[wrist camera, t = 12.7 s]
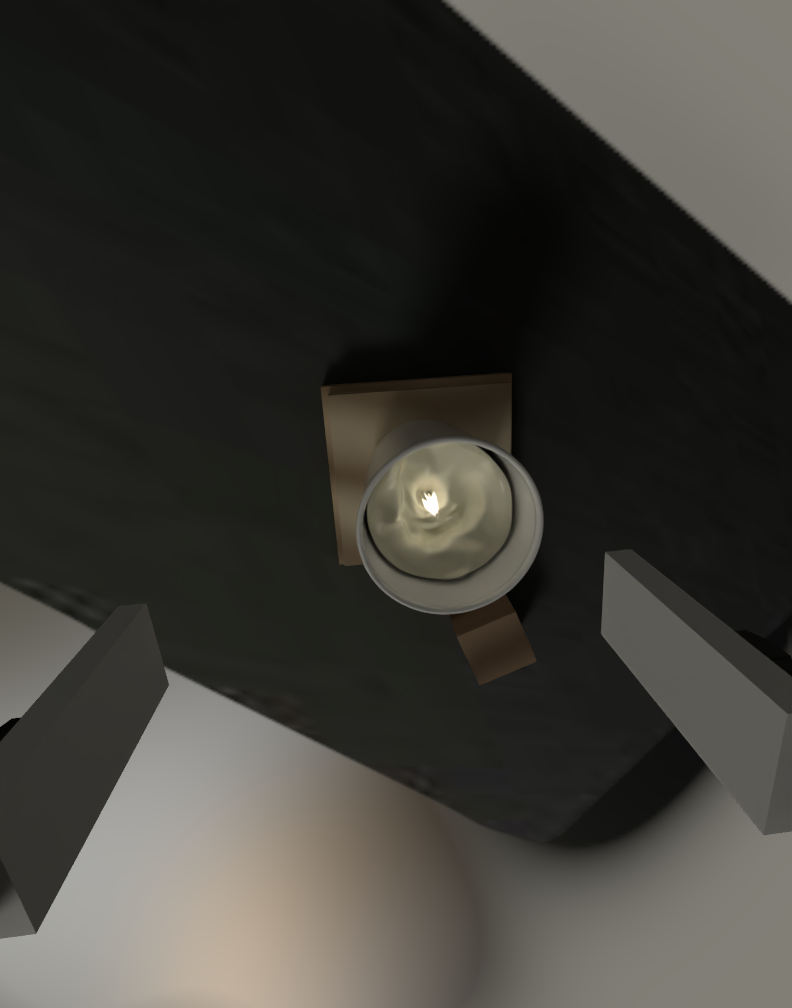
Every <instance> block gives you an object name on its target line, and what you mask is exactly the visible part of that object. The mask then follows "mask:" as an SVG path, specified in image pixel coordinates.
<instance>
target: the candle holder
mask: <svg viewBox="0 0 792 1008" xmlns="http://www.w3.org/2000/svg"><path fill="white" fill-rule="evenodd" d="M543 524H544V517H543V507H542V502H541V498H540V495H539V492H538V489H537V487H536V485H535V483H534V481H533V479H532V477H531V476H530V474H529V473H528V472H527V470H526V469H525V468H524V466H523V465H522V464H521V463H520V462H519V461H518V460H517V459H516V458H515V457H513V456H512V455H511V454H509V453H508V452H507V451H505V450H504V449H502V448H500V447H498V446H496V445H494V444H492V443H490V442H487V441H484V440H481V439H480V438H478V437H476V436H474V435H472V434H470V433H468V432H466V431H464V430H462V429H460V428H458V427H456V426H454V425H452V424H449V423H447V422H444V421H440V420H436V419H416V420H412V421H408V422H405V423H403V424H401V425H399V426H397V427H395V428H394V429H392V430H391V431H389V432H388V433H387V434H386V435H385V436H384V437H383V438H382V439H381V440H380V442H379V443H378V444H377V446H376V447H375V449H374V451H373V453H372V455H371V458H370V461H369V465H368V469H367V474H366V479H365V484H364V490H363V495H362V499H361V502H360V505H359V509H358V514H357V521H356V538H357V545H358V550H359V554H360V557H361V559H362V562H363V564H364V566H365V568H366V570H367V572H368V574H369V575H370V577H371V578H372V579H373V581H374V582H375V583H376V584H377V585H378V587H379V588H380V589H381V590H382V591H384V592H385V593H386V594H387V595H388V596H390V597H391V598H392V599H394V600H396V601H397V602H399V603H401V604H403V605H405V606H407V607H409V608H412V609H415V610H418V611H422V612H426V613H432V614H457V613H464V612H468V611H472V610H475V609H478V608H481V607H484V606H486V605H488V604H490V603H492V602H494V601H496V600H497V599H499V598H500V597H502V596H503V595H505V594H506V593H507V592H509V591H510V590H511V589H512V588H513V587H514V586H515V585H516V584H517V583H518V582H519V581H520V580H521V579H522V578H523V576H524V575H525V574H526V573H527V571H528V570H529V568H530V566H531V565H532V563H533V561H534V559H535V557H536V555H537V552H538V550H539V547H540V543H541V539H542V534H543Z"/></svg>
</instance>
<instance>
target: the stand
mask: <svg viewBox="0 0 792 1008" xmlns="http://www.w3.org/2000/svg"><path fill="white" fill-rule="evenodd" d="M321 394H322V404H323V413H324V423H325V432H326V442H327V451H328V461H329V470H330V480H331V489H332V499H333V508H334V518H335V527H336V537H337V546H338V556H339V564H344V566H348V565H360V564H363V562H362V559H361V557H360V554H359V550H358V545H357V538H356V521H357V514H358V509H359V505H360V502H361V499H362V495H363V490H364V484H365V479H366V474H367V469H368V465H369V461H370V458H371V455H372V453H373V451H374V449H375V447H376V446H377V444H378V443H379V442H380V440H381V439H382V438H383V437H384V436H385V435H386V434H387V433H388V432H389V431H391V430H392V429H394V428H395V427H397V426H399V425H401V424H403V423H405V422H408V421H412V420H416V419H436V420H440V421H444V422H447V423H449V424H452V425H454V426H456V427H458V428H460V429H462V430H464V431H466V432H468V433H470V434H472V435H474V436H476V437H478V438H480V439H481V440H484V441H487V442H490V443H492V444H494V445H496V446H498V447H500V448H502V449H504V450H505V451H507V452H508V453H509V454H511V432H512V374H511V373H493V374H479V375H464V376H450V377H435V378H421V379H407V380H392V381H378V382H363V383H349V384H334V385H322V386H321Z"/></svg>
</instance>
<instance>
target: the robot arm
mask: <svg viewBox="0 0 792 1008" xmlns="http://www.w3.org/2000/svg"><path fill="white" fill-rule="evenodd" d="M601 634H602V636H603V637H604V638H605V639H606V641H607V642H608V643H609V644H610V646H611V647H612V648H613V649H614V651H615V652H616V653H617V654H618V656H619V657H620V658H621V659H622V660H623V662H624V663H625V664H626V665H627V667H628V668H629V669H630V670H631V672H632V673H633V674H634V675H635V677H636V678H637V679H638V680H639V682H640V683H641V684H642V685H643V686H644V688H645V689H646V690H647V691H648V693H649V694H650V695H651V696H652V698H653V699H654V700H655V701H656V703H657V704H658V705H659V706H660V708H661V709H662V710H663V711H664V712H665V714H666V715H667V716H668V717H669V719H670V720H671V721H672V722H673V724H674V725H675V726H676V727H677V729H678V730H679V731H680V732H681V733H682V735H683V736H684V737H685V738H686V740H687V741H688V742H689V743H690V745H691V746H692V747H693V748H694V750H695V751H696V752H697V753H698V755H699V756H700V757H701V758H702V759H703V761H704V762H705V763H706V764H707V766H708V767H709V768H710V769H711V771H712V772H713V773H714V774H715V776H716V777H717V778H718V779H719V781H720V782H721V783H722V784H723V786H724V787H725V788H726V789H727V790H728V792H729V793H730V794H731V795H732V797H733V798H734V799H735V800H736V802H737V803H738V804H739V805H740V806H741V808H742V809H743V810H744V811H745V813H746V814H747V815H748V816H749V818H750V819H751V820H752V821H753V823H754V824H755V825H756V826H757V828H758V829H759V830H760V831H761V832H762V834H763V835H768V834H775V833H783V832H790V831H792V659H791V656H790V655H789V654H787V653H786V652H784V651H783V650H782V649H781V648H779V647H778V646H777V645H775V644H774V643H773V642H771V641H769V640H767V639H765V638H762V637H760V636H758V635H756V634H754V633H751V632H749V631H747V630H741V631H733V630H732V629H731V628H730V627H728V626H727V625H726V624H725V623H723V622H722V621H721V620H720V619H718V618H717V617H716V616H714V615H713V614H712V613H711V612H709V611H708V610H707V609H706V608H704V607H703V606H702V605H701V604H699V603H698V602H697V601H696V600H694V599H693V598H692V597H691V596H689V595H688V594H687V593H685V592H684V591H683V590H682V589H680V588H679V587H678V586H677V585H675V584H674V583H673V582H672V581H670V580H669V579H668V578H667V577H665V576H664V575H663V574H662V573H660V572H659V571H658V570H656V569H655V568H654V567H653V566H651V565H650V564H649V563H648V562H646V561H645V560H644V559H643V558H641V557H640V556H639V555H638V554H636V553H635V552H634V551H633V550H631V549H630V550H621V551H612V552H605V567H604V587H603V607H602V627H601ZM168 686H169V684H168V680H167V676H166V673H165V669H164V665H163V662H162V658H161V654H160V651H159V647H158V644H157V640H156V636H155V633H154V629H153V626H152V622H151V619H150V615H149V611H148V608H147V604H146V603H144V604H135V605H126V606H118V607H117V609H116V610H115V611H114V612H113V613H112V614H111V615H110V617H109V618H108V619H107V620H106V621H105V622H104V623H103V625H102V626H101V627H100V628H99V629H98V630H97V631H96V633H95V634H94V635H93V636H92V637H91V638H90V640H89V641H88V642H87V643H86V644H85V645H84V646H83V648H82V649H81V650H80V651H79V652H78V653H77V654H76V656H75V657H74V658H73V659H72V660H71V661H70V662H69V664H68V665H67V666H66V667H65V668H64V670H63V671H62V672H61V673H60V674H59V675H58V676H57V677H56V679H55V680H54V681H53V682H52V683H51V684H50V685H49V687H48V688H47V689H46V690H45V691H44V692H43V694H42V695H41V696H40V697H39V698H38V699H37V700H36V701H35V703H34V704H33V705H32V706H31V707H30V708H29V710H28V711H27V712H26V713H25V714H24V715H23V716H22V718H15V719H11V720H9V721H8V722H7V723H5V724H4V725H2V726H1V727H0V939H1V938H8V937H15V936H23V935H30V934H36V933H37V931H38V929H39V927H40V925H41V924H42V922H43V920H44V918H45V916H46V914H47V912H48V910H49V909H50V907H51V905H52V903H53V901H54V899H55V897H56V895H57V894H58V892H59V890H60V888H61V886H62V884H63V882H64V880H65V879H66V877H67V875H68V873H69V871H70V869H71V867H72V865H73V864H74V862H75V860H76V858H77V856H78V854H79V852H80V850H81V849H82V847H83V845H84V843H85V841H86V839H87V837H88V836H89V834H90V832H91V829H92V828H93V826H94V824H95V822H96V821H97V819H98V817H99V815H100V813H101V811H102V809H103V807H104V806H105V804H106V802H107V800H108V798H109V796H110V794H111V792H112V791H113V789H114V787H115V785H116V783H117V781H118V779H119V777H120V776H121V774H122V772H123V770H124V768H125V766H126V764H127V763H128V761H129V759H130V757H131V755H132V753H133V751H134V749H135V748H136V746H137V744H138V742H139V740H140V738H141V736H142V734H143V733H144V731H145V729H146V727H147V725H148V723H149V721H150V719H151V718H152V716H153V714H154V712H155V710H156V708H157V706H158V704H159V702H160V701H161V699H162V697H163V695H164V693H165V691H166V689H167V688H168Z"/></svg>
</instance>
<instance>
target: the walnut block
mask: <svg viewBox="0 0 792 1008" xmlns="http://www.w3.org/2000/svg"><path fill="white" fill-rule="evenodd" d="M449 615H450V618H451V621H452V624H453V627H454V630H455V633H456V636H457V639H458V641H459V643H460V645H461V647H462V649H463V651H464V653H465V656H466V658H467V660H468V662H469V664H470V666H471V668H472V670H473V672H474V674H475V677H476V679H477V681H478V683H479V685H482V684H484V683H486V682H489V681H491V680H493V679H496V678H498V677H501V676H503V675H505V674H508V673H510V672H512V671H515V670H517V669H520V668H522V667H524V666H527V665H529V664H532V663H534V662H536V658H535V656H534V654H533V651H532V649H531V647H530V644H529V642H528V639H527V637H526V635H525V632H524V630H523V628H522V625H521V623H520V621H519V618H518V616H517V614H516V611H515V610H514V608H513V606H512V604H511V603H510V601H509V599H508V598H507V596H506V594H505V595H503V596H502V597H500V598H499V599H497V600H496V601H494V602H492V603H490V604H488V605H486V606H484V607H481V608H478V609H475V610H472V611H468V612H464V613H457V614H449Z"/></svg>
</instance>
